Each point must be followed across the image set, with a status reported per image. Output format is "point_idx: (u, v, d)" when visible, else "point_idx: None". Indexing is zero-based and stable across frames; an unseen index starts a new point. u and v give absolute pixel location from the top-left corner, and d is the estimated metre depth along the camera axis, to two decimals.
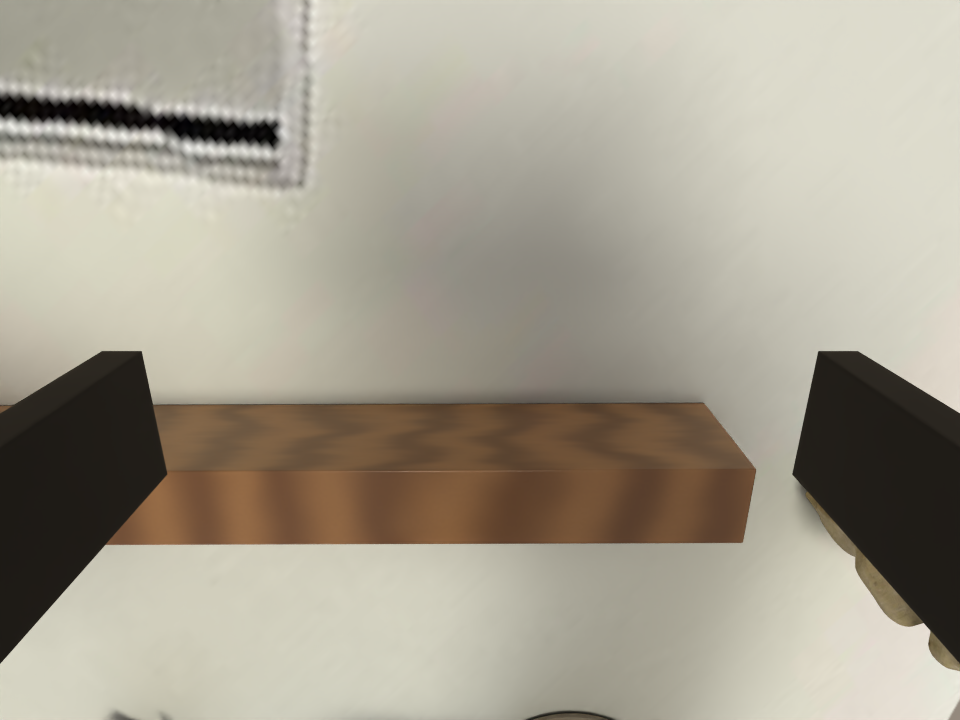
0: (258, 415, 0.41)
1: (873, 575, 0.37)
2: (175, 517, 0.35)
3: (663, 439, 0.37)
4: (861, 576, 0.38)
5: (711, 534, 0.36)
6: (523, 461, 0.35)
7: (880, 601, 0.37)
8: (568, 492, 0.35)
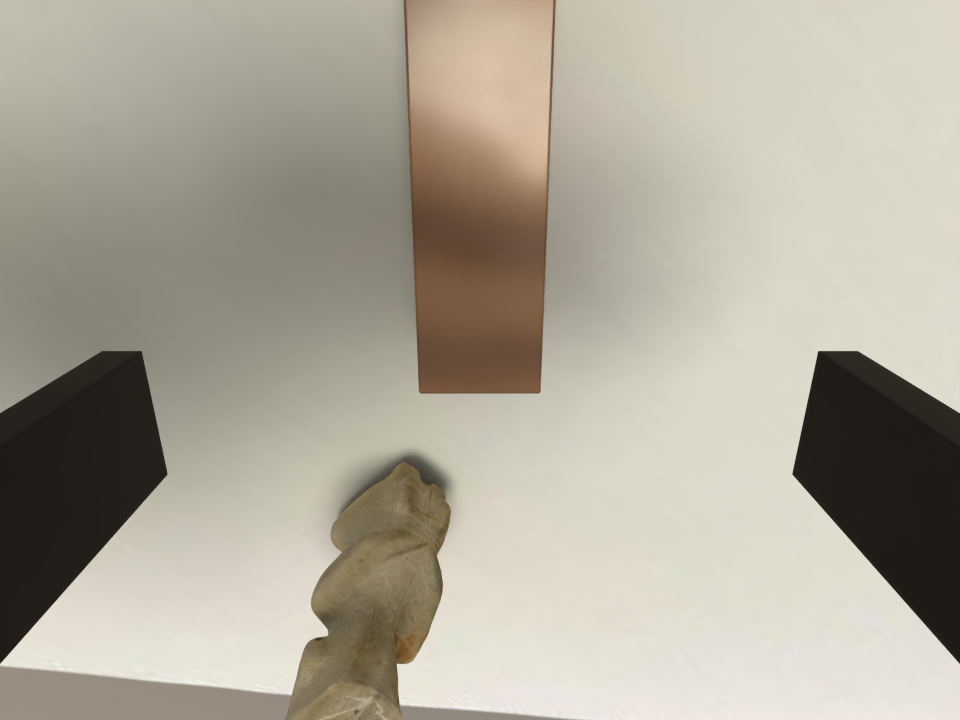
0: None
1: (369, 555, 0.29)
2: None
3: None
4: (361, 543, 0.29)
5: (433, 350, 0.25)
6: None
7: (338, 571, 0.28)
8: (508, 124, 0.22)
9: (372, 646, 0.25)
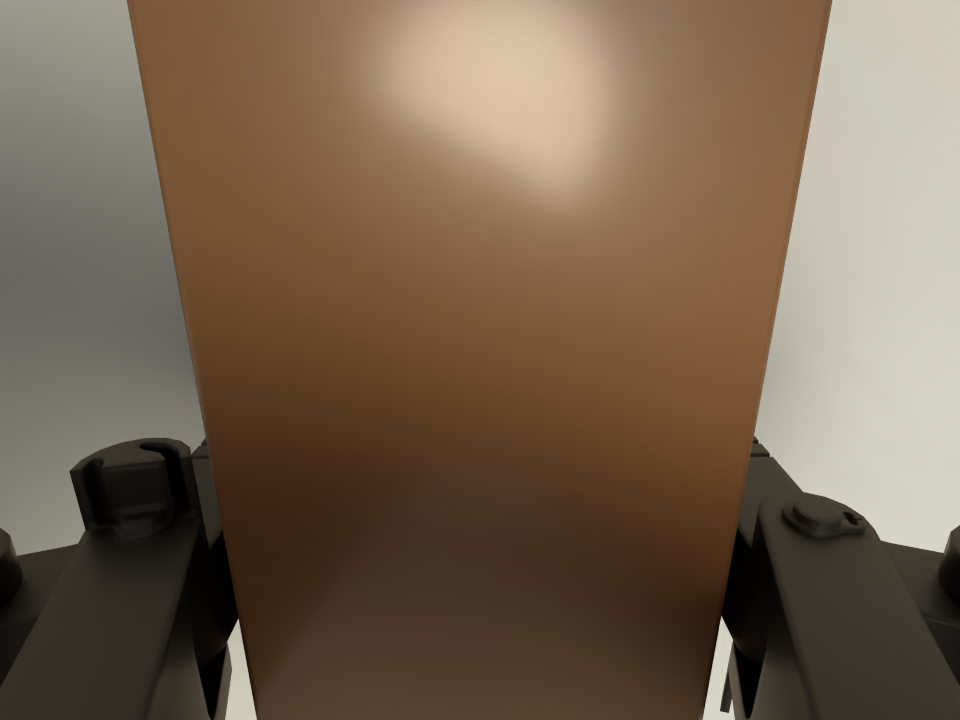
0: None
1: None
2: None
3: None
4: None
5: None
6: None
7: None
8: (614, 135, 0.05)
9: None
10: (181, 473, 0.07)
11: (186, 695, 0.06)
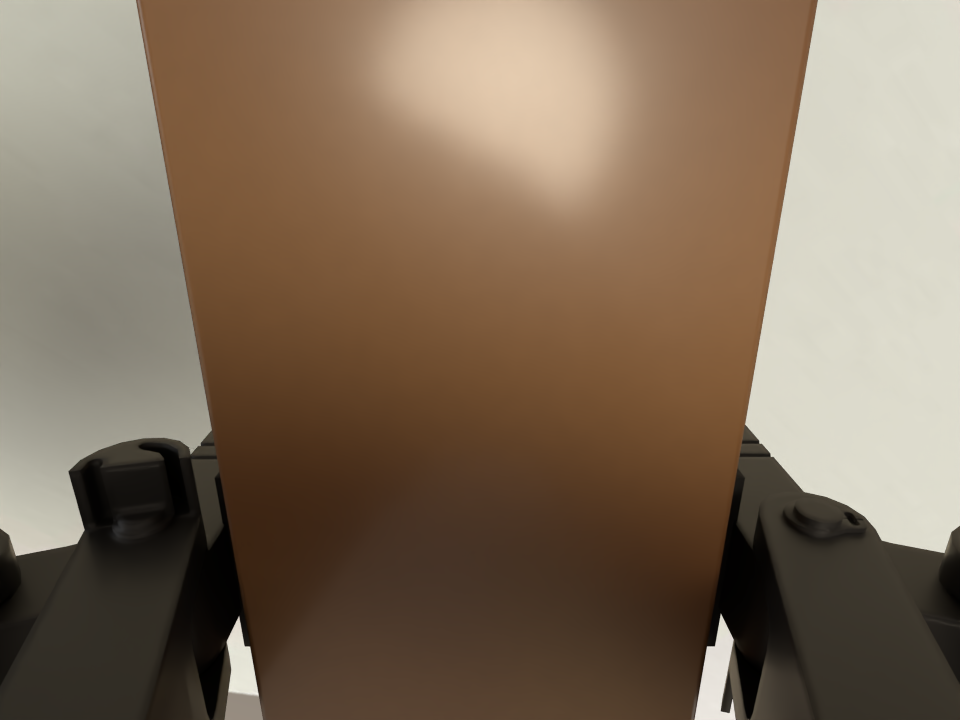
0: None
1: None
2: None
3: None
4: None
5: None
6: None
7: None
8: (607, 142, 0.05)
9: None
10: (180, 473, 0.07)
11: (185, 695, 0.06)
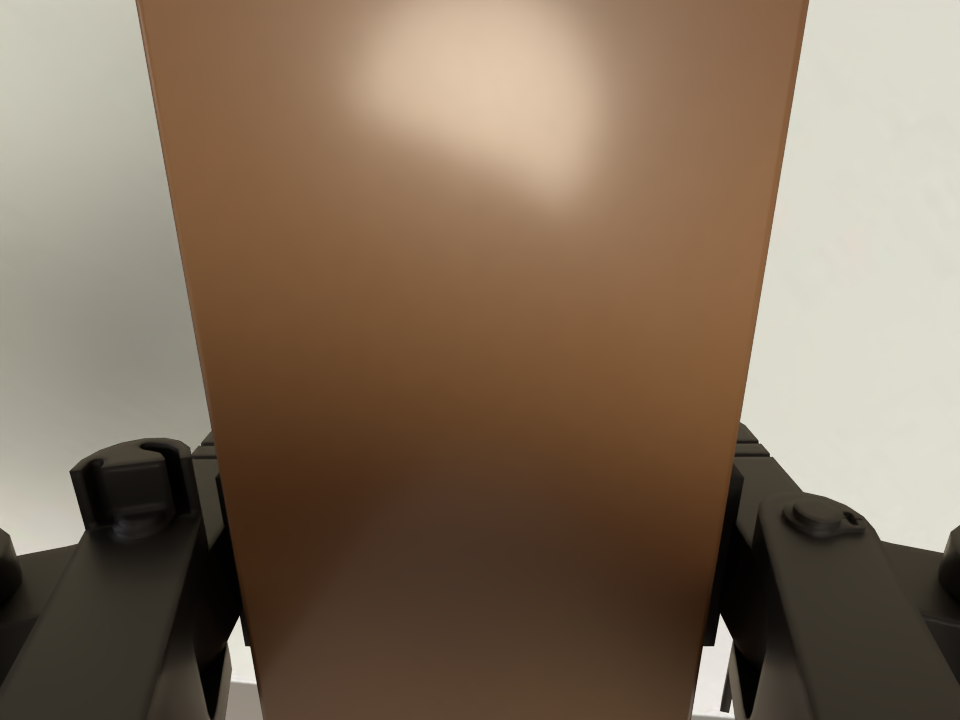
0: None
1: None
2: None
3: None
4: None
5: None
6: None
7: None
8: (600, 142, 0.05)
9: None
10: (181, 473, 0.07)
11: (186, 695, 0.06)
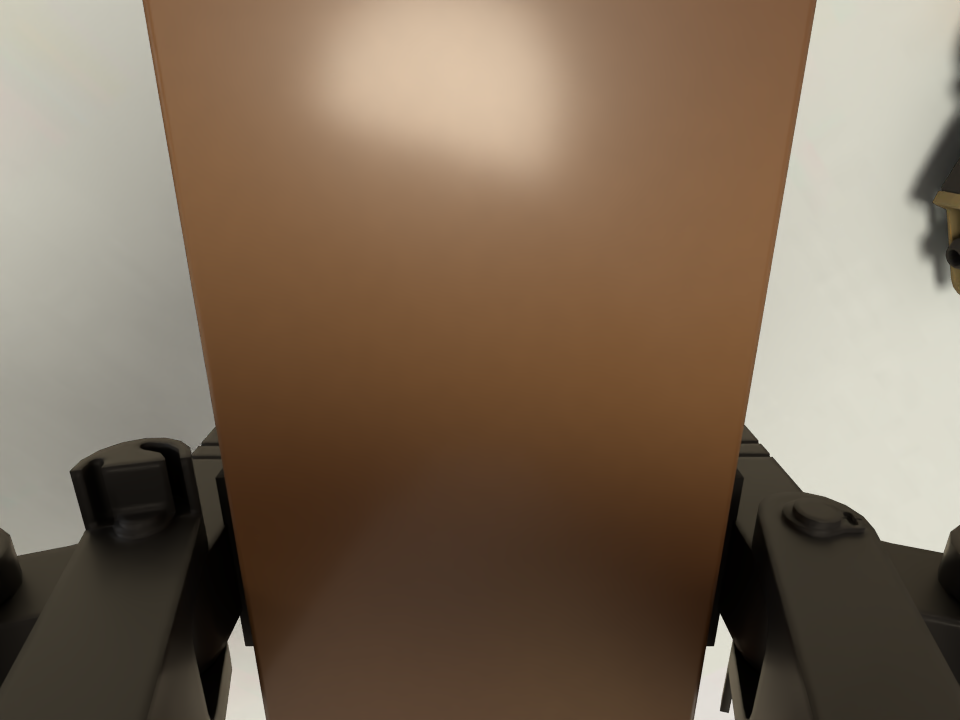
0: None
1: None
2: None
3: None
4: None
5: None
6: None
7: None
8: (606, 149, 0.05)
9: None
10: (181, 473, 0.07)
11: (186, 695, 0.06)
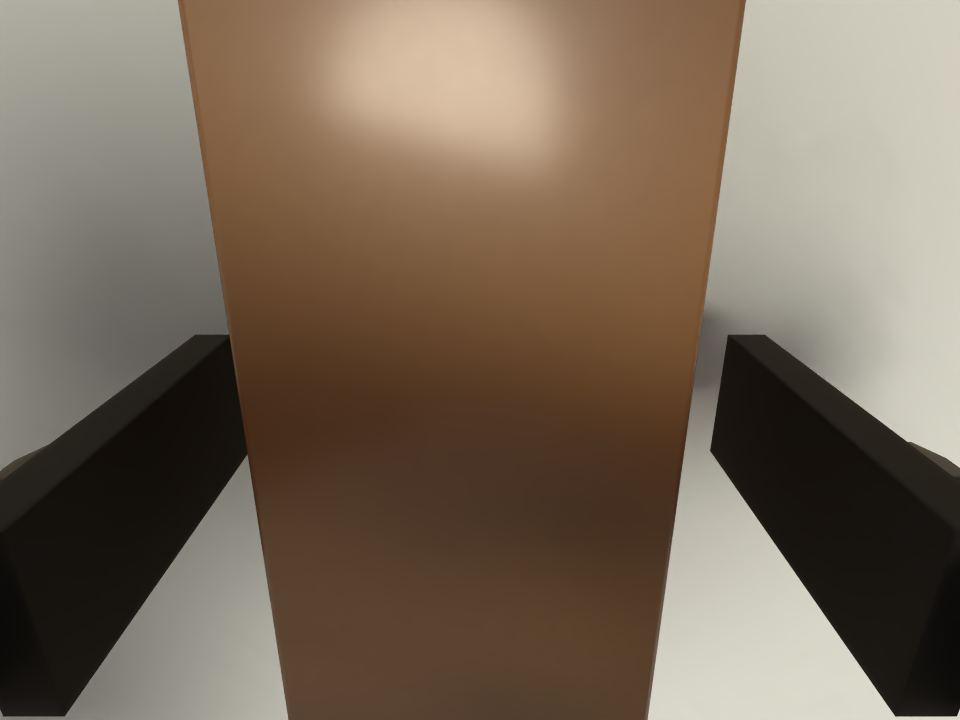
0: None
1: None
2: None
3: None
4: None
5: None
6: None
7: None
8: (573, 81, 0.06)
9: None
10: None
11: None
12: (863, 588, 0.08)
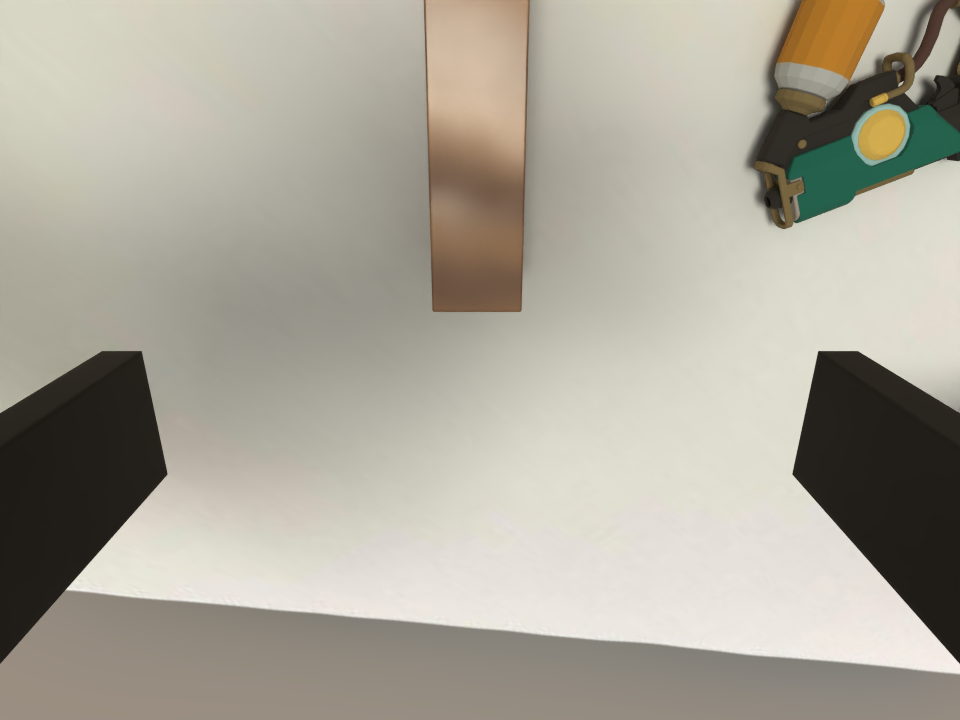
0: None
1: None
2: None
3: None
4: None
5: (443, 278, 0.34)
6: None
7: None
8: (496, 113, 0.31)
9: None
10: None
11: None
12: None
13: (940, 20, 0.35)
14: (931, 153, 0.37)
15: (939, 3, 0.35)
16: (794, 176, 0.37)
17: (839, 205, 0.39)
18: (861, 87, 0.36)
